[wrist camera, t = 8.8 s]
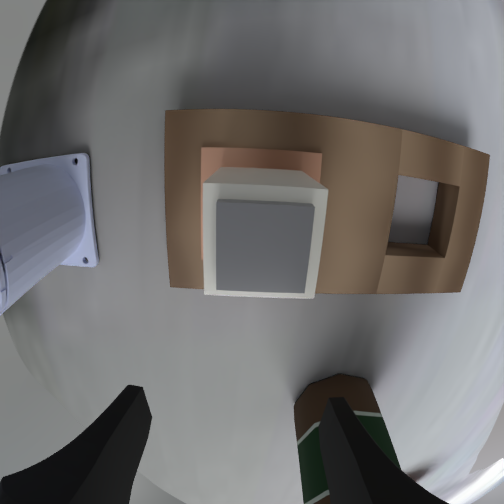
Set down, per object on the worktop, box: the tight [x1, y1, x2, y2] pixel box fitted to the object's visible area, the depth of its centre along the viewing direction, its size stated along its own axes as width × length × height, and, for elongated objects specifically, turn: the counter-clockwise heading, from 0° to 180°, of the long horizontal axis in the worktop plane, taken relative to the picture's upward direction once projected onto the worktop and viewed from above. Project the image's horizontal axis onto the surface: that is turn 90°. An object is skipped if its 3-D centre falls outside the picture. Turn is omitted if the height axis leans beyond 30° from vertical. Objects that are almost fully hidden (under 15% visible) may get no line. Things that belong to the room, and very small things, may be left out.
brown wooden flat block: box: [165, 109, 490, 294], centre depth 16 cm, size 20×10×3 cm, turn 88°
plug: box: [203, 167, 328, 299], centre depth 12 cm, size 4×4×6 cm
